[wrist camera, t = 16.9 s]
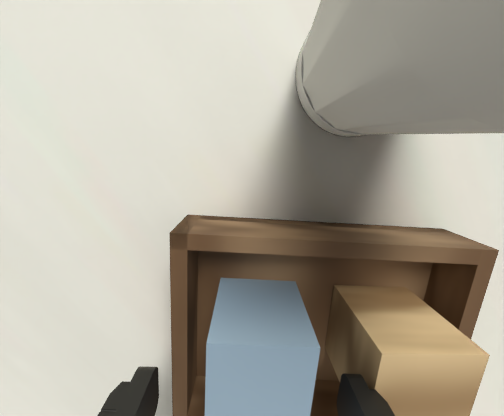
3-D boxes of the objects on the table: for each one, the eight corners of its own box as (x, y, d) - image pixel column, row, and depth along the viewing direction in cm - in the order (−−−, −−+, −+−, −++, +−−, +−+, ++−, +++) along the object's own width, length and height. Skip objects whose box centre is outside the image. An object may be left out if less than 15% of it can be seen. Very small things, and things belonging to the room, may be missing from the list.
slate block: (220, 277, 14) (206, 343, 9) (295, 281, 14) (320, 347, 9) (218, 341, 15) (204, 431, 10) (288, 344, 15) (307, 434, 10)
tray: (187, 374, 17) (172, 427, 13) (187, 214, 14) (169, 232, 11) (404, 381, 17) (440, 434, 14) (442, 228, 14) (499, 250, 11)
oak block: (334, 285, 14) (382, 353, 9) (406, 287, 14) (489, 355, 10) (325, 347, 15) (363, 439, 10) (392, 348, 15) (461, 438, 11)
